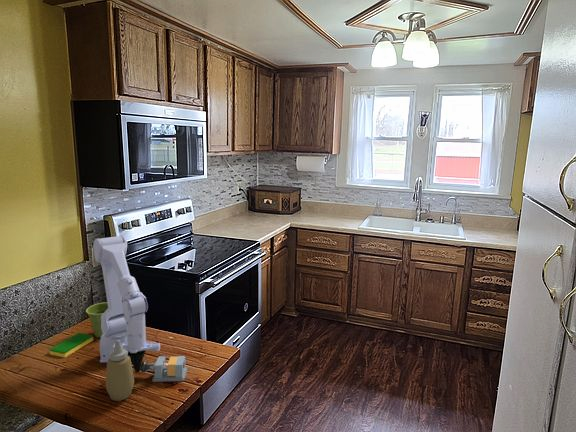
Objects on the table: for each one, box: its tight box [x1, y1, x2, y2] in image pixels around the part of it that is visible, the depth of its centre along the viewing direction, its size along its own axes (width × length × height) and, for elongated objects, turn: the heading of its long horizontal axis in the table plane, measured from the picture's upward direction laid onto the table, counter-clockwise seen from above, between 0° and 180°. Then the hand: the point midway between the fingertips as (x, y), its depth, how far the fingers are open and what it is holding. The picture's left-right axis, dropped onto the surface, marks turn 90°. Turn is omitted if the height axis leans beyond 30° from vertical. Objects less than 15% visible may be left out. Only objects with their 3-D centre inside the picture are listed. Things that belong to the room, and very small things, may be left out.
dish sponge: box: [48, 332, 94, 358], centre depth 149 cm, size 7×14×2 cm, turn 163°
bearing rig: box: [152, 355, 188, 383], centre depth 131 cm, size 10×6×6 cm, turn 95°
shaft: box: [140, 361, 168, 374], centre depth 131 cm, size 12×3×3 cm, turn 95°
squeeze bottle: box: [105, 340, 135, 402], centre depth 119 cm, size 8×8×18 cm
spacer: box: [167, 355, 179, 376], centre depth 131 cm, size 3×5×4 cm, turn 5°
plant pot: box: [85, 301, 115, 339], centre depth 158 cm, size 12×12×11 cm
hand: (138, 370), depth 130 cm, fingers closed
